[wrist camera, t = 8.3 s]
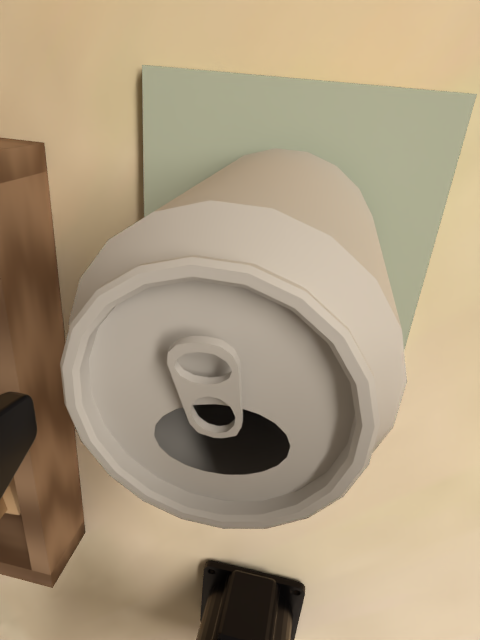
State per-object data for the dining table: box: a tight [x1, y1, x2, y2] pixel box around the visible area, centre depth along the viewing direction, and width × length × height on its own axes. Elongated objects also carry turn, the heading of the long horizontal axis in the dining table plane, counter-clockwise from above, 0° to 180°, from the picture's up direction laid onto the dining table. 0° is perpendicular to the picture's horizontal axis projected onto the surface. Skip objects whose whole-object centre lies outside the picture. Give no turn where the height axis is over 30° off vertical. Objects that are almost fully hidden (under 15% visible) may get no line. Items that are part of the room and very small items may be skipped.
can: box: [60, 148, 407, 529], centre depth 14 cm, size 8×8×12 cm
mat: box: [142, 65, 477, 349], centre depth 19 cm, size 12×12×1 cm
